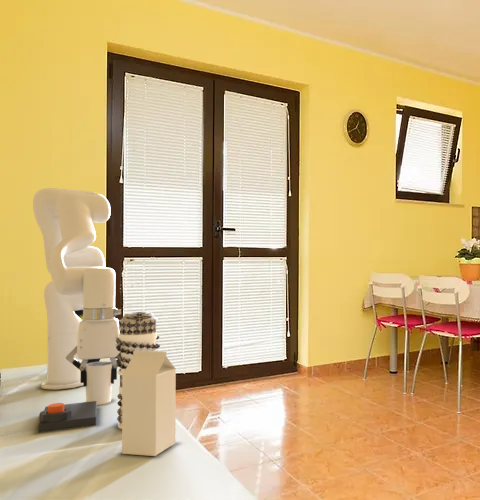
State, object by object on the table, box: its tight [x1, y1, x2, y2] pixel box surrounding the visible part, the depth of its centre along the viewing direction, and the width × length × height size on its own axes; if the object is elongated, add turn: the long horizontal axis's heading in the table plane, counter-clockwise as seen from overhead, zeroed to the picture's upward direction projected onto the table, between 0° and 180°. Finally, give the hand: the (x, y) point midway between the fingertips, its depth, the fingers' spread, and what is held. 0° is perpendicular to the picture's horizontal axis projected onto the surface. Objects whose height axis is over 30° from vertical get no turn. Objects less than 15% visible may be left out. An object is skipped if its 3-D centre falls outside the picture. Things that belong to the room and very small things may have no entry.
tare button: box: [47, 402, 65, 414], centre depth 114 cm, size 3×3×2 cm
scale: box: [38, 401, 97, 433], centre depth 119 cm, size 15×11×4 cm
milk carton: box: [121, 350, 177, 457], centre depth 100 cm, size 7×7×19 cm
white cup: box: [85, 360, 113, 406], centre depth 134 cm, size 7×7×10 cm
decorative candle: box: [115, 311, 161, 430], centre depth 116 cm, size 9×9×25 cm
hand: (98, 383), depth 134 cm, fingers closed on white cup, 5 cm apart
